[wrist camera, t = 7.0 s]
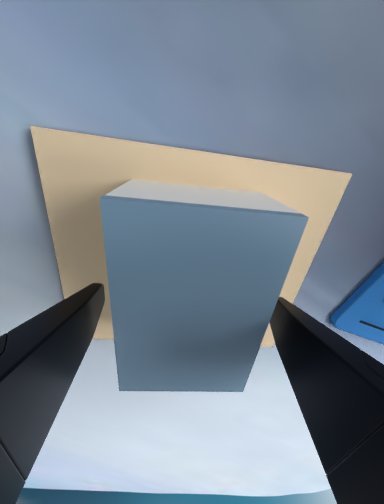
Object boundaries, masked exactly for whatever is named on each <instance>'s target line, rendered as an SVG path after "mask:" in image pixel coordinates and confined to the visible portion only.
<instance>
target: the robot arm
mask: <svg viewBox="0 0 384 504" xmlns="http://www.w3.org/2000/svg"><path fill="white" fill-rule="evenodd" d="M104 302H105V292H104V285H103V284H102V283H92V284H90V285H88V286H87V287H85V288H83V289H81V290H80V291H78V292H76V293H74V294H73V295H71V296H69V297H68V298H66V299H64V300H62V301H61V302H59V303H57V304H56V305H54V306H52V307H50V308H49V309H47V310H45V311H43V312H42V313H40V314H38V315H37V316H35V317H33V318H31V319H30V320H28V321H26V322H24V323H23V324H21V325H19V326H18V327H16V328H14V329H12V330H11V331H9V332H8V334H7V333H5V334H4V335H2V336H0V504H16V502H17V499H18V497H19V495H20V493H21V491H22V489H23V486H24V484H25V480H26V479H27V478H28V475H29V473H30V471H31V469H32V467H33V465H34V463H35V460H36V458H37V456H38V454H39V452H40V450H41V448H42V445H43V443H44V441H45V439H46V437H47V435H48V433H49V430H50V428H51V426H52V424H53V422H54V420H55V417H56V415H57V413H58V411H59V409H60V407H61V405H62V402H63V400H64V398H65V396H66V394H67V392H68V390H69V387H70V385H71V383H72V381H73V379H74V377H75V375H76V372H77V370H78V368H79V366H80V364H81V362H82V360H83V357H84V355H85V353H86V351H87V349H88V347H89V345H90V342H91V340H92V338H93V336H94V333H95V330H96V327H97V324H98V321H99V318H100V315H101V312H102V309H103V306H104ZM269 323H270V327H271V330H272V334H273V337H274V341H275V344H276V347H277V350H278V352H279V355H280V357H281V360H282V363H283V365H284V368H285V370H286V373H287V375H288V378H289V381H290V383H291V386H292V388H293V391H294V393H295V396H296V399H297V401H298V404H299V406H300V409H301V411H302V414H303V417H304V419H305V422H306V424H307V427H308V429H309V432H310V434H311V437H312V440H313V442H314V445H315V447H316V450H317V452H318V455H319V458H320V460H321V463H322V465H323V468H324V470H325V473H326V474H327V475H326V476H327V479H328V481H329V484H330V486H331V489H332V491H333V494H334V496H335V499H336V502H337V504H384V365H383V364H382V363H380V362H379V361H377V360H376V359H374V358H373V357H371V356H370V355H368V354H367V353H365V352H364V351H362V350H361V351H360V349H359V348H358V347H356V346H355V345H353V344H352V343H350V342H349V341H347V340H346V339H344V338H343V337H341V336H340V335H338V334H337V333H335V332H334V331H332V330H331V329H329V328H328V327H326V326H325V325H323V324H322V323H320V322H319V321H317V320H316V319H314V318H313V317H311V316H310V315H308V314H307V313H305V312H304V311H302V310H301V309H299V308H298V307H296V306H295V305H293V304H292V303H290V302H289V301H287V300H286V299H284V298H283V297H279V298H278V301H277V303H276V306H275V308H274V311H273V314H272V316H271V319H270V322H269Z"/></svg>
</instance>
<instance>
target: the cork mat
mask: <svg viewBox="0 0 384 504" xmlns="http://www.w3.org/2000/svg"><path fill="white" fill-rule="evenodd" d="M30 128H31V133H32V138H33V143H34V148H35V153H36V158H37V163H38V168H39V173H40V178H41V184H42V189H43V194H44V199H45V204H46V209H47V214H48V219H49V224H50V229H51V234H52V239H53V244H54V249H55V254H56V259H57V264H58V269H59V274H60V279H61V285H62V290H63V295H64V299H66V298H68V297H69V296H71V295H73V294H74V293H76V292H78V291H80V290H81V289H83V288H85V287H87V286H88V285H90V284H92V283H102V284H103V285H104V292H105V302H104V306H103V309H102V312H101V315H100V318H99V321H98V324H97V327H96V330H95V333H94V336H93V338H92V339H112V340H114V334H113V324H112V315H111V305H110V295H109V286H108V276H107V266H106V256H105V247H104V237H103V227H102V218H101V208H100V198H101V197H102V196H104V195H106V194H108V193H109V192H111V191H113V190H114V189H116V188H118V187H119V186H121V185H123V184H124V183H126V182H128V181H130V180H131V179H136V180H146V181H156V182H165V183H175V184H185V185H195V186H205V187H215V188H225V189H234V190H244V191H254V192H261V193H263V194H265V195H267V196H269V197H271V198H273V199H275V200H277V201H279V202H281V203H283V204H284V205H286V206H288V207H290V208H292V209H294V210H296V211H298V212H300V213H302V214H304V215H305V216H307V217H309V219H308V222H307V224H306V227H305V229H304V232H303V235H302V237H301V240H300V243H299V245H298V248H297V251H296V253H295V256H294V258H293V261H292V264H291V266H290V269H289V272H288V274H287V277H286V279H285V282H284V285H283V287H282V290H281V293H280V295H279V297H283V298H284V299H286V300H287V301H289V302H290V303H292V304H293V302H294V300H295V298H296V295H297V293H298V291H299V289H300V287H301V285H302V282H303V280H304V278H305V276H306V274H307V272H308V269H309V267H310V265H311V263H312V261H313V259H314V256H315V254H316V252H317V250H318V248H319V246H320V243H321V241H322V239H323V237H324V235H325V233H326V230H327V228H328V226H329V224H330V222H331V220H332V217H333V215H334V213H335V211H336V209H337V206H338V204H339V202H340V200H341V198H342V196H343V193H344V191H345V189H346V187H347V185H348V183H349V180H350V178H351V176H352V173H345V172H338V171H332V170H325V169H318V168H311V167H305V166H298V165H291V164H284V163H278V162H271V161H264V160H257V159H251V158H244V157H237V156H230V155H224V154H217V153H210V152H203V151H197V150H190V149H183V148H176V147H170V146H163V145H156V144H149V143H143V142H136V141H129V140H122V139H116V138H109V137H102V136H95V135H89V134H82V133H75V132H68V131H62V130H55V129H48V128H41V127H35V126H30ZM274 343H275V341H274V337H273V334H272V330H271V327H270V323H269V324H268V327H267V330H266V332H265V335H264V337H263V340H262V343H261V345H260V346H261V347H273V345H274Z"/></svg>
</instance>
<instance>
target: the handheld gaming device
mask: <svg viewBox="0 0 384 504" xmlns="http://www.w3.org/2000/svg"><path fill="white" fill-rule="evenodd" d="M330 321H331V323H332V324H333V325H334V326H335V327H336V328H338V329H340V330H343V331H346V332H349V333H352V334H355V335H358V336H361V337H364V338H367V339H370V340H373V341H376V342H378V343H381V344H384V262H383V263H382V264H381V265H380V266H379V267H378V268H377V269H376V270H375V271H374V272H373V274H372V275H371V276H370V277H369V278H368V279H367V280H366V281H365V282H364V283H363V284H362V285H361V286H360V287H359V288H358V289H357V290H356V291H355V292H354V293H353V294H352V295H351V296H350V297H349V298H348V299H347V300H346V301H345V302H344V303H343V304H342V305H341V306H340V307H339V308H338V309H337V310H336V311H335V312H334V313H333V315H332V316H331V318H330Z"/></svg>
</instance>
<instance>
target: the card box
mask: <svg viewBox="0 0 384 504" xmlns="http://www.w3.org/2000/svg"><path fill="white" fill-rule="evenodd" d="M100 208H101V218H102V227H103V237H104V247H105V256H106V266H107V276H108V286H109V295H110V305H111V315H112V324H113V334H114V344H115V354H116V363H117V373H118V383H119V391H207V392H243V390H244V387H245V385H246V382H247V380H248V377H249V374H250V372H251V369H252V366H253V364H254V361H255V358H256V356H257V353H258V351H259V348H260V345H261V343H262V340H263V337H264V335H265V332H266V330H267V327H268V324H269V322H270V319H271V316H272V314H273V311H274V308H275V306H276V303H277V301H278V298H279V295H280V293H281V290H282V287H283V285H284V282H285V279H286V277H287V274H288V272H289V269H290V266H291V264H292V261H293V258H294V256H295V253H296V251H297V248H298V245H299V243H300V240H301V237H302V235H303V232H304V229H305V227H306V224H307V222H308V219H309V217H307V216H305V215H304V214H302V213H300V212H298V211H296V210H294V209H292V208H290V207H288V206H286V205H284V204H283V203H281V202H279V201H277V200H275V199H273V198H271V197H269V196H267V195H265V194H263V193H261V192H254V191H244V190H234V189H225V188H215V187H205V186H195V185H185V184H175V183H165V182H156V181H146V180H136V179H131V180H130V181H128V182H126V183H124V184H123V185H121V186H119V187H118V188H116V189H114V190H113V191H111V192H109V193H108V194H106V195H104V196H102V197H101V198H100Z"/></svg>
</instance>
